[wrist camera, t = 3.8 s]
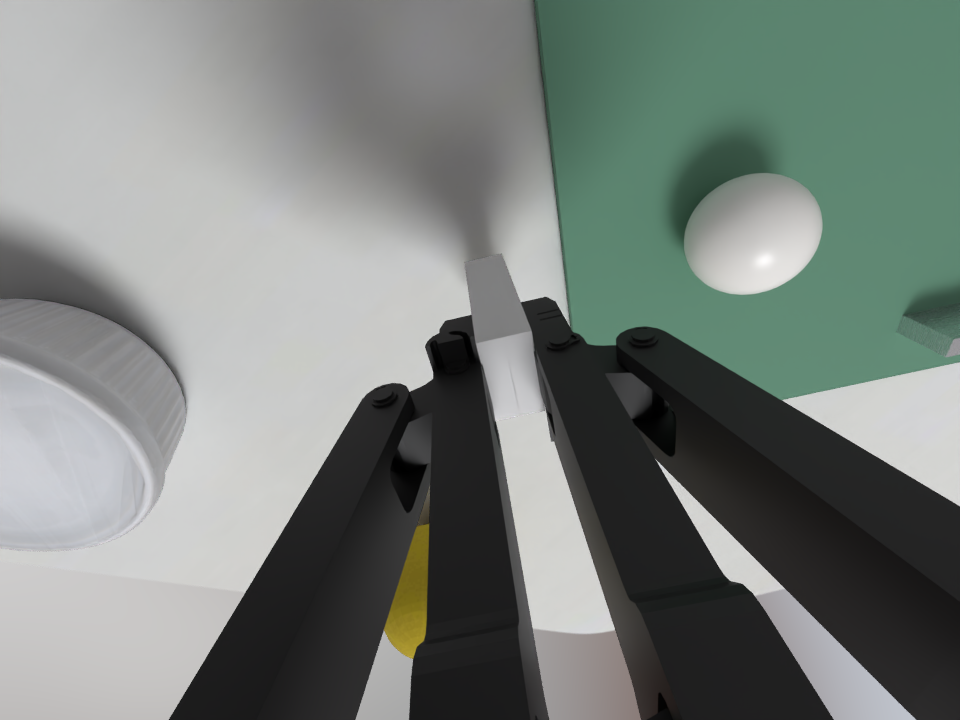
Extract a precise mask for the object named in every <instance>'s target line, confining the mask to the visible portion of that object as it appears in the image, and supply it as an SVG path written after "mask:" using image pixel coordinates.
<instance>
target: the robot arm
mask: <svg viewBox="0 0 960 720" xmlns="http://www.w3.org/2000/svg"><path fill="white" fill-rule="evenodd" d="M465 270H466V277H467V284H468V292H469V299H470V306H471V314H472V315H469V316H465V317H460V318H456V319H452V320H447V321H445V322H444V324H443V325H442V326H441V328H440V333H438V334H437V335H435V336H433V337H432V338H431V339H430V340H429V341H427V343H426V346H425V348H426V351H427V354H428V357H429V360H430V363H431V366H432V369H433V379H432V380H431V381H430V382H428V383H427V384H426V385H424V386H422V387H420V388H418V389H415V390H413V391H411V392H409V390H408V388H407V387H406V386H405V385H402V384H398V383H391V384H386V385H382V386H380V387H377V388H375V389H374V390H372V391H371V392H369V393H368V394H367V395H366V396H365V397H364V398H363V399H362V401H361V402H360V404H359V406H358V407H357V409H356V411H355V412H354V414H353V416H352V417H351V419H350V421H349V422H348V424H347V425H346V427H345V429H344V430H343V432H342V434H341V435H340V437H339V439H338V440H337V442H336V444H335V445H334V447H333V449H332V450H331V452H330V454H329V455H328V457H327V459H326V460H325V462H324V464H323V465H322V467H321V469H320V470H319V472H318V474H317V475H316V477H315V478H314V480H313V482H312V483H311V485H310V487H309V488H308V490H307V492H306V493H305V495H304V497H303V498H302V500H301V502H300V503H299V505H298V507H297V508H296V510H295V512H294V513H293V515H292V517H291V518H290V520H289V522H288V523H287V525H286V526H285V528H284V530H283V531H282V533H281V535H280V536H279V538H278V540H277V541H276V543H275V545H274V546H273V548H272V550H271V551H270V553H269V555H268V556H267V558H266V560H265V561H264V563H263V565H262V566H261V568H260V570H259V571H258V573H257V575H256V576H255V578H254V579H253V581H252V583H251V584H250V586H249V588H248V589H247V591H246V593H245V594H244V596H243V598H242V599H241V601H240V603H239V604H238V606H237V608H236V609H235V611H234V613H233V614H232V616H231V618H230V619H229V621H228V623H227V624H226V626H225V627H224V629H223V631H222V632H221V634H220V636H219V637H218V639H217V641H216V642H215V644H214V646H213V647H212V649H211V651H210V652H209V654H208V656H207V657H206V659H205V661H204V662H203V664H202V666H201V667H200V669H199V671H198V672H197V674H196V676H195V677H194V679H193V680H192V682H191V684H190V686H189V687H188V689H187V690H186V692H185V694H184V695H183V697H182V699H181V700H180V702H179V704H178V705H177V707H176V709H175V710H174V712H173V714H172V715H171V717H170V719H169V720H355V719H356V716H357V713H358V710H359V706H360V703H361V700H362V697H363V694H364V691H365V687H366V684H367V681H368V678H369V675H370V672H371V669H372V665H373V662H374V659H375V656H376V653H377V650H378V646H379V643H380V640H381V637H382V634H383V631H384V628H385V624H386V621H387V618H388V615H389V612H390V609H391V605H392V602H393V599H394V596H395V593H396V590H397V586H398V583H399V580H400V577H401V574H402V571H403V567H404V564H405V561H406V558H407V555H408V552H409V549H410V545H411V542H412V539H413V536H414V533H415V530H416V526H417V523H418V520H419V517H420V514H421V511H422V507H423V504H424V501H425V498H426V495H427V492H428V489H429V485H430V513H429V548H428V584H427V620H426V635H425V638H424V641H423V642H422V643H421V644H420V645H418V646H417V648H416V651H415V655H414V658H413V666H412V676H411V693H410V713H409V720H549V717H548V712H547V707H546V702H545V697H544V692H543V686H542V681H541V675H540V669H539V663H538V658H537V652H536V647H535V640H534V635H533V629H532V623H531V617H530V611H529V606H528V600H527V594H526V588H525V583H524V577H523V571H522V565H521V560H520V554H519V548H518V542H517V536H516V531H515V525H514V519H513V513H512V508H511V502H510V496H509V490H508V485H507V479H506V473H505V467H504V461H503V456H502V450H501V444H500V438H499V433H498V429H497V425H496V421H500V420H505V419H509V418H514V417H518V416H523V415H528V414H532V413H537V412H542V411H545V408H546V413H547V419H548V425H549V431H550V437H551V442H552V441H554V442H555V445H556V448H557V451H558V455H559V458H560V461H561V464H562V467H563V470H564V473H565V476H566V479H567V482H568V485H569V488H570V492H571V495H572V498H573V501H574V504H575V507H576V510H577V513H578V516H579V519H580V522H581V525H582V529H583V532H584V535H585V538H586V541H587V544H588V547H589V550H590V553H591V556H592V559H593V563H594V566H595V569H596V572H597V575H598V578H599V581H600V584H601V587H602V590H603V593H604V596H605V600H606V603H607V606H608V609H609V612H610V615H611V618H612V621H613V624H614V627H615V630H616V633H617V637H618V640H619V642H620V646H621V648H622V652H623V655H624V658H625V661H626V664H627V667H628V670H629V674H630V677H631V680H632V684H633V687H634V692H635V696H636V700H637V705H638V709H639V713H640V717H641V720H834V719H833V718H832V716H831V715H830V713H829V712H828V710H827V708H826V707H825V705H824V704H823V702H822V701H821V699H820V697H819V696H818V694H817V692H816V691H815V689H814V688H813V686H812V684H811V683H810V681H809V680H808V678H807V677H806V675H805V673H804V672H803V670H802V669H801V667H800V665H799V664H798V662H797V661H796V659H795V658H794V656H793V654H792V653H791V651H790V650H789V648H788V647H787V645H786V643H785V642H784V640H783V638H782V637H781V635H780V634H779V632H778V630H777V629H776V627H775V626H774V624H773V623H772V621H771V620H770V618H769V616H768V615H767V613H766V611H765V610H764V609H763V607H762V606H761V604H760V603H759V602H758V601H757V599H756V597H755V596H754V595H753V593H752V592H751V591H749V590H748V589H747V588H746V587H745V586H744V585H743V584H741V583H736V582H731V581H730V580H729V579H727V578H726V577H725V575H724V574H723V573H722V571H721V570H720V568H719V567H718V565H717V563H716V562H715V560H714V558H713V556H712V555H711V553H710V551H709V550H708V548H707V546H706V545H705V543H704V541H703V539H702V538H701V536H700V534H699V533H698V531H697V529H696V528H695V526H694V524H693V522H692V521H691V519H690V517H689V516H688V514H687V512H686V511H685V509H684V507H683V506H682V504H681V502H680V500H679V499H678V497H677V495H676V494H675V492H674V490H673V489H672V487H671V485H670V483H669V482H668V480H667V478H666V477H665V475H664V473H663V472H662V470H661V468H660V467H659V465H658V463H657V461H658V462H659V463H660V464H661V465H662V466H663V467H664V468H665V469H666V470H667V471H668V472H669V473H670V474H671V475H672V476H673V477H674V478H675V479H676V480H677V481H678V482H679V483H680V484H681V485H682V486H683V487H684V488H685V489H686V490H687V491H688V492H689V493H690V494H691V495H692V496H693V497H694V498H695V499H696V500H697V501H698V502H699V503H700V504H701V505H702V506H703V507H704V508H705V509H706V510H707V511H708V512H709V513H710V514H711V515H712V516H713V517H714V518H715V519H716V520H717V521H718V522H719V523H720V524H721V525H722V526H723V527H724V528H725V529H726V530H727V531H728V532H729V533H730V534H731V535H732V536H733V537H734V538H735V539H736V540H737V541H738V542H739V543H740V544H741V545H742V546H743V547H744V548H745V549H746V550H747V551H748V552H749V553H750V554H751V555H752V556H753V557H754V558H755V559H756V560H757V561H758V562H759V563H760V564H761V565H762V566H763V567H764V568H765V569H766V570H767V571H768V572H769V573H770V574H771V575H772V576H773V577H774V578H775V579H776V580H777V581H778V582H779V583H780V584H781V585H782V586H783V587H784V588H785V589H786V590H787V591H788V592H789V593H790V594H791V595H792V596H793V597H794V598H795V599H796V600H797V601H798V602H799V603H800V604H801V605H802V606H803V607H804V608H805V609H806V610H807V611H808V612H809V613H810V614H811V615H812V616H813V617H814V618H815V619H816V620H817V621H818V622H819V623H820V624H821V625H822V626H823V627H824V628H825V629H826V630H827V631H828V632H829V633H830V634H831V635H832V636H833V637H834V638H835V639H836V640H837V641H838V642H839V643H840V644H841V645H842V646H843V647H844V648H845V649H846V650H847V651H848V652H849V653H850V654H851V655H852V656H853V657H854V658H855V659H856V660H857V661H858V662H859V663H860V664H861V665H862V666H863V667H864V668H865V669H866V670H867V671H868V672H869V673H870V674H871V675H872V676H873V677H874V678H875V679H876V680H877V681H878V682H879V683H880V684H881V685H882V686H883V687H884V688H885V689H886V690H887V691H888V692H889V693H890V694H891V695H892V696H893V697H894V698H895V699H896V700H897V701H898V702H899V703H900V704H901V705H902V706H903V707H904V708H905V709H906V710H907V711H908V712H909V713H910V714H911V715H912V716H913V717H914V718H915V719H916V720H960V506H958V505H957V504H955V503H953V502H952V501H950V500H948V499H946V498H945V497H943V496H941V495H940V494H938V493H936V492H935V491H933V490H931V489H930V488H928V487H926V486H925V485H923V484H921V483H920V482H918V481H916V480H915V479H913V478H911V477H909V476H908V475H906V474H904V473H903V472H901V471H899V470H898V469H896V468H894V467H893V466H891V465H889V464H888V463H886V462H884V461H883V460H881V459H879V458H878V457H876V456H874V455H872V454H871V453H869V452H867V451H866V450H864V449H862V448H861V447H859V446H857V445H856V444H854V443H852V442H851V441H849V440H847V439H846V438H844V437H842V436H841V435H839V434H837V433H836V432H834V431H832V430H830V429H829V428H827V427H825V426H824V425H822V424H820V423H819V422H817V421H815V420H814V419H812V418H810V417H809V416H807V415H805V414H804V413H802V412H800V411H799V410H797V409H795V408H793V407H792V406H790V405H788V404H787V403H785V402H783V401H782V400H780V399H778V398H777V397H775V396H773V395H772V394H770V393H768V392H767V391H765V390H763V389H762V388H760V387H758V386H756V385H755V384H753V383H751V382H750V381H748V380H746V379H745V378H743V377H741V376H740V375H738V374H736V373H735V372H733V371H731V370H730V369H728V368H726V367H725V366H723V365H721V364H720V363H718V362H716V361H714V360H713V359H711V358H709V357H708V356H706V355H704V354H703V353H701V352H699V351H698V350H696V349H694V348H693V347H691V346H689V345H688V344H686V343H684V342H683V341H681V340H679V339H677V338H676V337H674V336H672V335H671V334H669V333H667V332H666V331H663V330H661V329H658V328H653V327H647V326H642V327H635V328H631V329H627V330H625V331H624V332H622V333H620V334H619V335H618V336H617V338H616V345H606V346H600V345H590V344H587V343H586V341H585V339H584V338H583V337H582V336H581V335H580V334H577V333H574V332H572V330H571V328H570V326H569V325H568V323H567V321H566V319H565V318H564V316H563V314H562V312H561V310H560V309H559V307H558V305H557V303H556V302H555V301H553V300H551V299H549V298H547V297H543V298H538V299H534V300H530V301H525V302H520V299H519V297H518V294H517V292H516V289H515V287H514V284H513V281H512V279H511V276H510V274H509V271H508V269H507V266H506V263H505V261H504V258H503V256H502V253H501V254H497V255H493V256H489V257H484V258H480V259H476V260H472V261H467V262H465ZM544 405H545V407H544ZM655 459H656V460H657V461H656V460H655Z"/></svg>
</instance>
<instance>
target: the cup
mask: <svg viewBox="0 0 960 720" xmlns="http://www.w3.org/2000/svg"><path fill="white" fill-rule="evenodd" d="M897 333H899V334H901V335H903V336H905V337H906V338H908V339H910V340H912V341H914V342H916V343H918V344H920V345H922V346H924V347H926V348H928V349H930V350H932V351H934V352H936V353H938V354H940V355H942V356H944V357H950V356H955V355H960V303H956V304H951V305H946V306H942V307H937V308H933V309H928V310H924V311H919V312H914V313H910V314H905V315H902V318H901V321H900V323H899V326H898V329H897Z"/></svg>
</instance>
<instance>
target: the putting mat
mask: <svg viewBox="0 0 960 720" xmlns="http://www.w3.org/2000/svg"><path fill="white" fill-rule="evenodd" d="M534 4H535V13H536V22H537V31H538V40H539V49H540V58H541V67H542V76H543V85H544V94H545V102H546V111H547V120H548V129H549V138H550V147H551V156H552V165H553V174H554V183H555V192H556V201H557V210H558V219H559V228H560V236H561V245H562V254H563V263H564V272H565V281H566V290H567V299H568V308H569V317H570V326H571V330H572V332H574V333H577V334H580V335H581V336H582V337H583V338H584V339H585V341H586V343H587V344H590V345H600V346H606V345H616V338H617V336H618V335H619V334H620V333H622V332H624V331H625V330H627V329H631V328H635V327H642V326H647V327H653V328H658V329H661V330H663V331H666V332H667V333H669V334H671V335H672V336H674V337H676V338H677V339H679V340H681V341H683V342H684V343H686V344H688V345H689V346H691V347H693V348H694V349H696V350H698V351H699V352H701V353H703V354H704V355H706V356H708V357H709V358H711V359H713V360H714V361H716V362H718V363H720V364H721V365H723V366H725V367H726V368H728V369H730V370H731V371H733V372H735V373H736V374H738V375H740V376H741V377H743V378H745V379H746V380H748V381H750V382H751V383H753V384H755V385H756V386H758V387H760V388H762V389H763V390H765V391H767V392H768V393H770V394H772V395H773V396H775V397H777V398H778V399H780V400H783V399H788V398H793V397H798V396H802V395H807V394H812V393H816V392H821V391H826V390H831V389H835V388H840V387H845V386H849V385H854V384H859V383H864V382H868V381H873V380H878V379H882V378H887V377H892V376H896V375H901V374H906V373H911V372H915V371H920V370H925V369H929V368H934V367H939V366H944V365H948V364H953V363H958V362H960V355H955V356H950V357H944V356H942V355H940V354H938V353H936V352H934V351H932V350H930V349H928V348H926V347H924V346H922V345H920V344H918V343H916V342H914V341H912V340H910V339H908V338H906V337H905V336H903V335H901V334H899V333H897V329H898V326H899V323H900V321H901V318H902V315H905V314H910V313H914V312H919V311H924V310H928V309H933V308H937V307H942V306H946V305H951V304H956V303H960V0H534ZM755 173H772V174H779V175H783V176H786V177H789V178H792V179H793V180H795V181H797V182H799V183H800V184H802V185H803V186H804V187H806V188H807V189H808V190H809V191H810V192H811V194H812V195H813V196H814V197H815V199H816V201H817V203H818V205H819V207H820V210H821V215H822V222H823V225H822V235H821V239H820V242H819V245H818V248H817V250H816V252H815V254H814V256H813V257H812V259H811V260H810V261H809V263H808V264H807V265H806V266H805V267H804V269H803V270H802V271H801V272H799V273H798V274H797V275H796V276H795V277H793V278H792V279H791V280H789V281H787V282H786V283H784V284H782V285H780V286H778V287H776V288H774V289H771V290H768V291H765V292H761V293H756V294H748V295H738V294H729V293H725V292H721V291H718V290H716V289H713V288H712V287H710V286H708V285H706V284H705V283H704V282H702V281H701V280H700V279H699V278H698V277H697V276H696V275H695V274H694V272H693V271H692V270H691V268H690V266H689V264H688V262H687V259H686V256H685V251H684V235H685V230H686V226H687V223H688V221H689V219H690V217H691V214H692V213H693V211H694V210H695V208H696V207H697V205H698V204H699V203H700V202H701V201H702V200H703V198H704V197H705V196H707V195H708V194H709V193H710V192H711V191H713V190H714V189H715V188H717V187H718V186H720V185H722V184H723V183H725V182H727V181H729V180H732V179H734V178H737V177H740V176H744V175H748V174H755Z"/></svg>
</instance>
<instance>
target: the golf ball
mask: <svg viewBox="0 0 960 720" xmlns="http://www.w3.org/2000/svg"><path fill="white" fill-rule="evenodd" d="M822 225H823V222H822V215H821V210H820V207H819V205H818V203H817V201H816V199H815V197H814V196H813V195H812V194H811V192H810V191H809V190H808V189H807V188H806V187H804V186H803V185H802V184H800V183H799V182H797V181H795V180H793V179H792V178H789V177H786V176H783V175H779V174H772V173H755V174H748V175H744V176H740V177H737V178H734V179H732V180H729V181H727V182H725V183H723V184H722V185H720V186H718V187H717V188H715V189H714V190H713V191H711V192H710V193H709V194H708V195H707V196H705V197H704V198H703V200H702V201H701V202H700V203H699V204H698V205H697V207H696V208H695V210H694V211H693V213H692V214H691V217H690V219H689V221H688V223H687V226H686V230H685V235H684V251H685V256H686V259H687V262H688V264H689V266H690V268H691V270H692V271H693V272H694V274H695V275H696V276H697V277H698V278H699V279H700V280H701V281H702V282H704V283H705V284H706V285H708V286H710V287H712V288H713V289H716V290H718V291H721V292H725V293H729V294H738V295H748V294H756V293H761V292H765V291H768V290H771V289H774V288H776V287H778V286H780V285H782V284H784V283H786V282H787V281H789V280H791V279H792V278H793V277H795V276H796V275H797V274H798V273H799V272H801V271H802V270H803V269H804V267H805V266H806V265H807V264H808V263H809V261H810V260H811V259H812V257H813V256H814V254H815V252H816V250H817V248H818V245H819V242H820V239H821V235H822Z"/></svg>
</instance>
